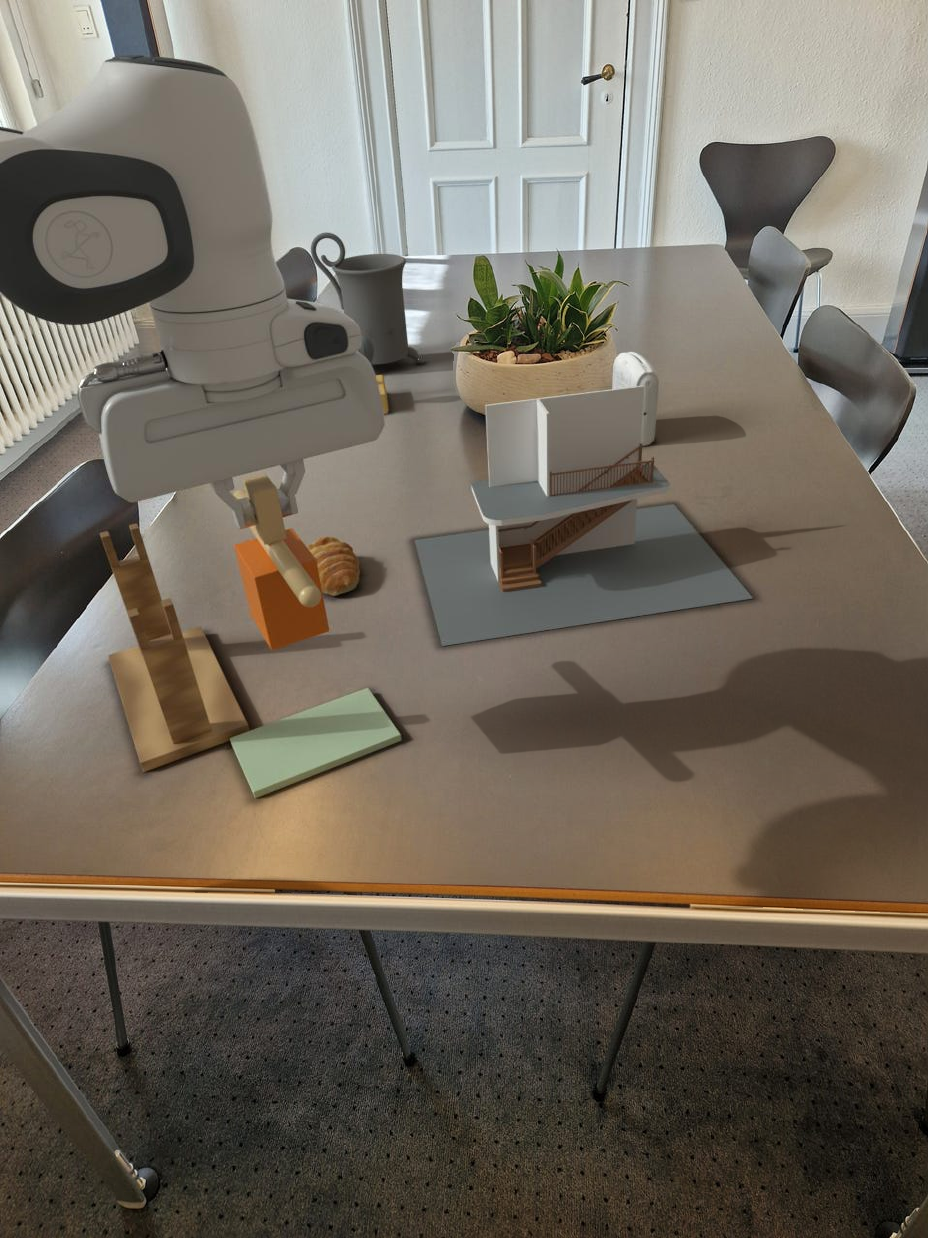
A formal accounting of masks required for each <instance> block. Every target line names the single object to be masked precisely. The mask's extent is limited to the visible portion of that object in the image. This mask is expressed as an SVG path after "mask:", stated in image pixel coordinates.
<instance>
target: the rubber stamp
mask: <svg viewBox="0 0 928 1238" xmlns="http://www.w3.org/2000/svg"><path fill="white" fill-rule="evenodd" d="M358 352H359V353H361V354H362V355H363V356H365V357H366V358H367V359H368V360H369V362H370V363H371V364H372V360H373V356H374V346H373V344H372V342H371V341H370V339H368V338H367V337H364V336H362V343H361V347H360V349H359V350H358ZM375 375H376V379H377V383H378V386H379V391H380V395H381V400H382V405H383V411H384V415H388V413H389V400H388V393H387V387H386V381H385V376H384V375H382V374H375Z"/></svg>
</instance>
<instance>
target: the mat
mask: <svg viewBox="0 0 928 1238" xmlns="http://www.w3.org/2000/svg"><path fill="white" fill-rule="evenodd" d="M401 741H402V734H401V733H400V731H399V729H398V728H397V727H396V725H395V724H394V723H393V721H392V720H391V719H390V716H388V714H387V713H386V711H385V710H384V708H383V707H382V706H381V704H380V703H379V701H378V700H377V698H376V697H375V696H374V694H373V692H372V691H371V690H370V688H369V687H366V688H365V687H364V688H362V689H361V690H358V691H355V692H352V693H350V694H346V695H343V696H341V697H338V698H336V699H333V700H330V701H328V702H325V703H322V704H319V705H316V706H314V707H310V708H309V709H306V710H305V709H304V710H303V711H300V712H298V713H295V714H292V715H290V716H286V717H284V718H280V719H278V720H275V721H273V722H270V723H268V724H265V725H261V726H259V727H257V728H254V729H251V730H250V731H248V732H245V733H242V734H240V735H237V736H234V737H231V738H230V741H229V742H230V745H231V747H232V749H233V751H234V754H235V756H236V758H237V760H238V763H239V765H240V768H241V770H242V771H243V775H244V776H245V778H246V781H247V783H248V785H249V787H250V790H251V792H252V794H253V797H254V798H255V799H257V798H260V797H262V796H265V795H268V794H270V793H273V792H275V791H278V790H280V789H282V788H286V787H287V786H291V785H293V784H296V783H299V782H301V781H303V780H305V779H308V778H311V777H313V776H316V775H318V774H321V773H323V772H326V771H328V770H331V769H333V768H337V767H338V766H342V765H343V764H345V763H348V762H351V761H353V760H356V759H360V758H361V757H364V756H366V755H369V754H371V753H373V752H377V751H378V750H381V749H384V748H386V747H389V746H391V745H394V744H397V743H399V742H401Z"/></svg>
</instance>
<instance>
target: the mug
mask: <svg viewBox="0 0 928 1238" xmlns="http://www.w3.org/2000/svg"><path fill="white" fill-rule="evenodd" d="M325 239H330V240H333V242H335V243H336V244H337V246H338V248H339V256H338V258H337V260H334V261H331V260H329V259H328V258H327V255H325V254H321V255H320V259H319V256H318V254H317V247H318V244H319V243H320V242H321V241H322V240H325ZM310 254H311V257H312V260H313V261H314V263H315V265H316V266H317V267H318V268H319V269H320V270H321V271H322V272H323V274H324V275H325V276H326V277H327V278H328V279H329V281H330V283H331V284H332V285H333V287H334V289H335V292H336V294H337V296H338V300H339V304H340V308H341V310H342V311H343V313H344V314H346V315H347V316H349V317H350V318H351V319H353V320H354V321H355V322H356V323H357V324H358V325H359V327H360V330H361V337H362V336H364V337H367V338H368V339H370V341H371V342H372V344H373V346H374V356H373V360H372V364H371V365H372V366H374V365H375V366H377V365H385V364H386V365H387V364H391V363H392V364H393V363H395V362H398V361H401V360H403V359H405V358H406V357H407V358H411V359H412V360H414V362H416V363H417V364H420V365H421V364H424V360H423V359H422V358H420V355H419V353H418V351H417V350H416V349H415V348H413V347H411V346H409V342H408V340H409V339H408V330H407V320H406V310H405V308H406V307H405V299H404V289H403V288H404V287H403V275H404V268H405V266H406V263H407V259H406V258H405V257H404V256H401V255H398V254H393V253H392V254H391V253H369V254H359V255H354V256H350V257H346V248H345V244H344V242H343V241H342V239H341V238H340V237H339V236H338V235H336V234H335V233H332V232H321V233H319V234H317V235H316V236H315V237H314V238H313V240H312V241H311V244H310ZM327 267H329V268H331V270H332V271H333V272H334V274H335V275H336V277H337V278H335V276H334V275H333V273H332V272H331V271H330V270H329V269H328V268H327ZM336 279H337V280H338V281H337V280H336ZM418 359H419V360H418Z"/></svg>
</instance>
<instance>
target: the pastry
mask: <svg viewBox="0 0 928 1238" xmlns="http://www.w3.org/2000/svg"><path fill="white" fill-rule="evenodd" d="M306 547H307V548H308V549H309V551H310V552H311V553H312V555H313V556H314V557H315V559H316V561H317V566H318V572H319V577H320V583H321V588H322V593H323V594H325V595H329V596H331V597H336V596H339V595H341V594H346V593H348V592H350V591H351V592H352V591H353V590H355V589H356V588H357V585H358V584H359V582H360V574H361V570H360V568H359V567H360V560H359V559H358V556H357V555H356V554H355V553H354V549H353V547H352V546H351V545H349V544H348V543H347V542H345V541H341V540H339V539H338V538H337V537H335V536H323V537H319V538H316V539H315V540H314V541H312V542H311V543H308V544H307V545H306Z"/></svg>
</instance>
